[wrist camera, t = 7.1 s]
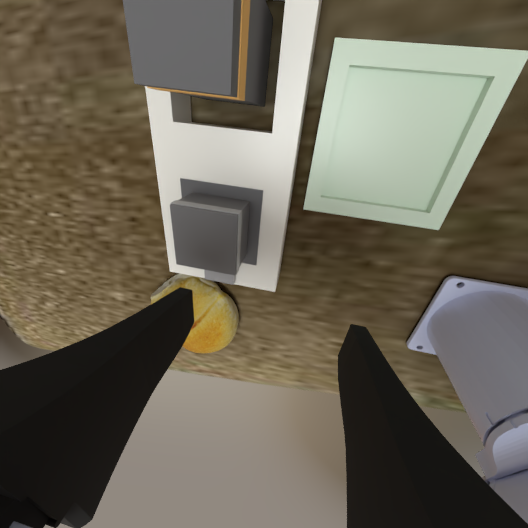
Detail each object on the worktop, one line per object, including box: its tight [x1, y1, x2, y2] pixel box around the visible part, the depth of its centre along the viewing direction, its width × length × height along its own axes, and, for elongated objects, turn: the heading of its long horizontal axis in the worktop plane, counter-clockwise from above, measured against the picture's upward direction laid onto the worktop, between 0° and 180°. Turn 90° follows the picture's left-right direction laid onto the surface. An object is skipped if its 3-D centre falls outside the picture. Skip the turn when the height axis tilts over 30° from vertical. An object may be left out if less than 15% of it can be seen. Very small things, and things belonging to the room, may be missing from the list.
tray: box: [303, 38, 528, 230], centre depth 14 cm, size 9×9×1 cm
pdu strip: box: [145, 0, 322, 292], centre depth 15 cm, size 9×18×6 cm, turn 174°
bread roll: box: [151, 273, 239, 353], centre depth 23 cm, size 8×9×4 cm
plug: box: [123, 0, 273, 107], centre depth 11 cm, size 4×4×7 cm
